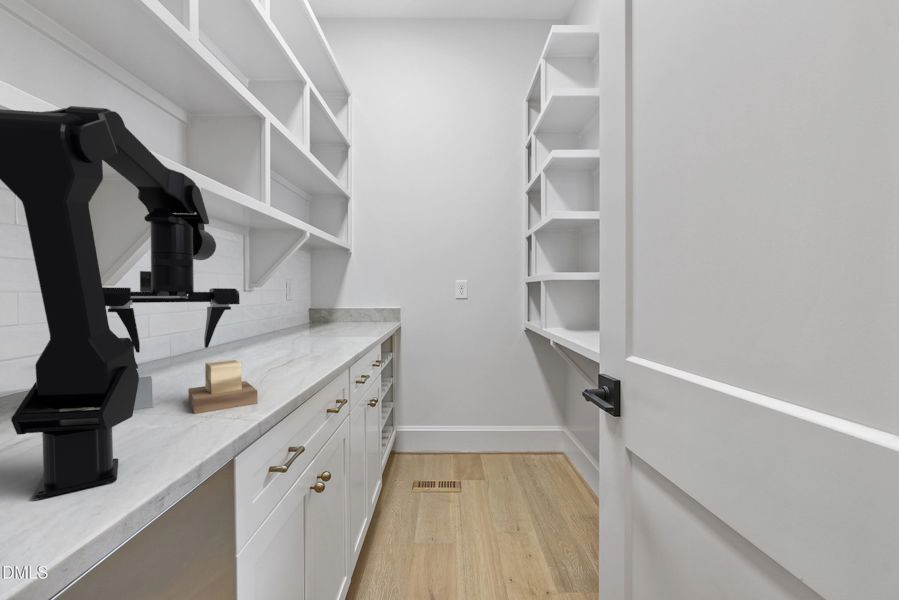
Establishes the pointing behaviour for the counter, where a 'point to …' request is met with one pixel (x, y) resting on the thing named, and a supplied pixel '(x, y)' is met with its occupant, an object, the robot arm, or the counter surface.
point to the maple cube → (223, 376)
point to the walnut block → (221, 398)
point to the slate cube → (144, 394)
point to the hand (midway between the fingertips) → (173, 349)
